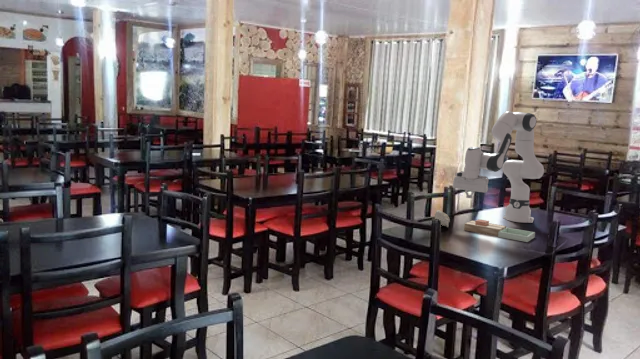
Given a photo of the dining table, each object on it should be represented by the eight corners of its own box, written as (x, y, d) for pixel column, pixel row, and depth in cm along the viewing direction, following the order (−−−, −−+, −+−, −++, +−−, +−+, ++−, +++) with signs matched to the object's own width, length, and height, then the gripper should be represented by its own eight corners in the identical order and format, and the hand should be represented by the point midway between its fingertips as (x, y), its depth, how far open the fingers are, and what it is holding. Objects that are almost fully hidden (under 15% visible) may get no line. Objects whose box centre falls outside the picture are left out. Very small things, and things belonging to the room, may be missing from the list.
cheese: (437, 223, 310) (451, 205, 317) (427, 220, 316) (441, 202, 322) (444, 241, 319) (458, 223, 325) (434, 237, 324) (447, 220, 330)
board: (471, 226, 329) (472, 220, 328) (505, 232, 317) (506, 226, 317) (464, 230, 318) (464, 223, 318) (498, 236, 307) (499, 229, 306)
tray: (505, 232, 318) (506, 227, 318) (534, 237, 309) (535, 232, 309) (497, 236, 306) (498, 231, 306) (527, 242, 297) (527, 236, 296)
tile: (478, 222, 322) (479, 219, 322) (488, 224, 319) (489, 220, 319) (475, 224, 318) (475, 220, 317) (485, 225, 314) (485, 222, 314)
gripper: (490, 176, 316) (488, 199, 318) (456, 172, 328) (454, 195, 330) (487, 177, 311) (484, 201, 313) (452, 173, 323) (450, 196, 324)
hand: (469, 198), depth 321 cm, fingers closed
